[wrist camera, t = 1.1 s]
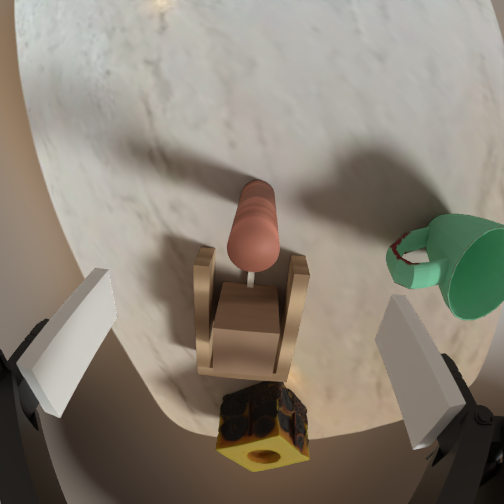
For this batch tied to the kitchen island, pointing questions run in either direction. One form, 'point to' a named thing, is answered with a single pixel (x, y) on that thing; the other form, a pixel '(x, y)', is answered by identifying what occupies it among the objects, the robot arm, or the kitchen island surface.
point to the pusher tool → (249, 289)
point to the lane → (288, 325)
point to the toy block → (263, 427)
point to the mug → (455, 263)
